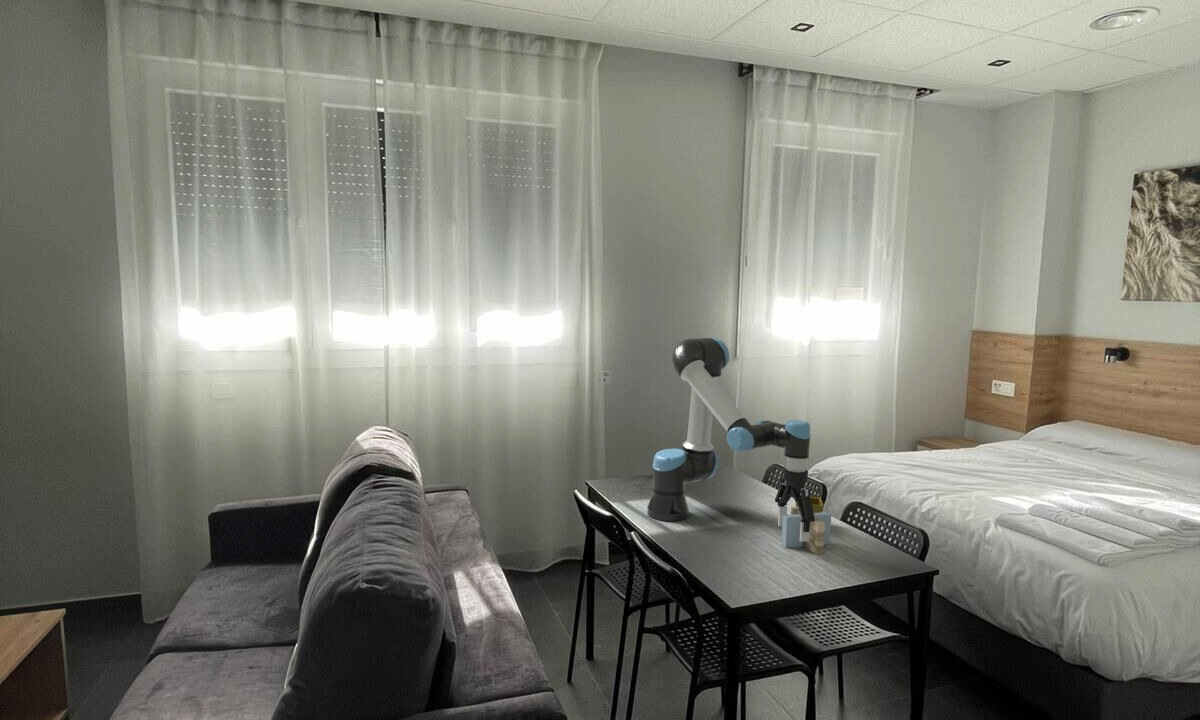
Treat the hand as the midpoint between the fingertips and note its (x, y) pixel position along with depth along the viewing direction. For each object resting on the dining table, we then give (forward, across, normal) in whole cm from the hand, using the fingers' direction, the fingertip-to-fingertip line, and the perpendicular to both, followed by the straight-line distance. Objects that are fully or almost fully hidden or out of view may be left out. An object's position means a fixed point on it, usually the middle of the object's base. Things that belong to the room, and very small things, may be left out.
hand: (792, 533), depth 210 cm
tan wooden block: (+4, 0, -5) cm, 7 cm away
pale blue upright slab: (+4, 0, -5) cm, 7 cm away
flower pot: (+4, +16, -16) cm, 23 cm away
